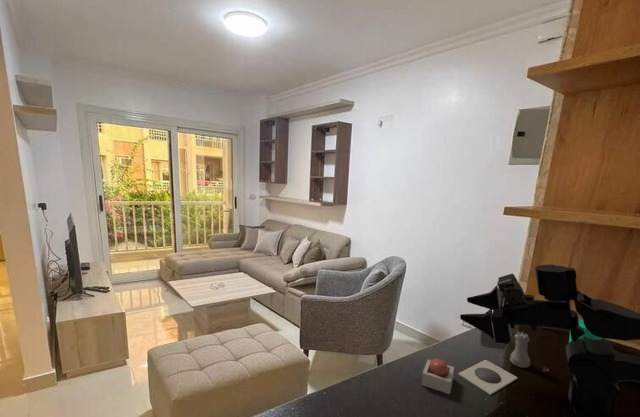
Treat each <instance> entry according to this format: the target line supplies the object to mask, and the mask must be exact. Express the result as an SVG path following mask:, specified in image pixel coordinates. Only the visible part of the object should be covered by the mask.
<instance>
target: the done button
mask: <svg viewBox="0 0 640 417" xmlns="http://www.w3.org/2000/svg"><path fill="white" fill-rule="evenodd" d="M430 360H431V366H430V373H431V374H434V375H437V376H440V377H444V378H445V377H446V376H447V365H448V364H447V362H445V361H444V360H442V359H440V358H433V359H430Z"/></svg>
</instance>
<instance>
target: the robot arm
mask: <svg viewBox="0 0 640 417" xmlns="http://www.w3.org/2000/svg"><path fill="white" fill-rule="evenodd" d="M534 270H535V278H536V283H537V284H536V285H537V291H538V292H537V293H538V294H539V295H540V296H543V298H544V299H535V297H534V295H533V296H532V294H526V293H525V292H524V290H523V287H522V286H521V284H520V282H519V281H518V279H517V277H516V275H515V274H514V273H509V274H505V275H503V276H499V277H498V281H496V282H497V283H496V285H495V286H494V288H493V289H492V290H491V291H490V292H486V293H482V294H478V295H474V296H473V295H472V296H469V297H467V298H466V301H467V303H469V304H472V305H476V306H478V307H481V308H485V309H488V310H487V311H486V312H484V313H463V314H460V315H459V316H460V320H461V321H463V322H465V323H467V324H469V325H470V326H473V327H474V328H476V329H478V330H479V331H481V332H483V333H484V334H486V335H487V336H489V337H490V338H491V340H494V341H495V344H496V345H505V346H506V345H508V344H510V342H511V340H512V329H513V330H514V329H516V326H523V327H531V331H533V332H534V331H535V332H537V331H538V328H544V329H552V330H553V329H554V330H555V329H556V330H564V331H566V330H567V331H569V335H570V334H571V339H572V341H571V342H569V341H568V343H567V345H566V347H565V352H566V354H565V355H566V359H567V365H568V368H569V370H570V371H571V373H572V374H573V379H569V386H568V394H567V397H568V400H569V405H570V406H572V408H573V411H574V414H575V415H578V416H581V417H616V411H617V403H618V402H617V401H618V396H619V395H620V393H621V391H620V387H619V384H618V383H619V382H620V383H621V382H626V381H630V382H635V383H636V382H637V383H640V355H634V354H628V353H624V352H621V351H618V350H616V349H614V348H613V347H612V344H611V342H610V340H616V341H617V340H618V341H635V340H636V341H637V340H639V341H640V312H637V311H634V310H631V309H629V308H627V307H625V306H624V305H623V306H622V305H620V304H616V303H613V302H609V301H606V300H603V299H600V298H599V299H598V298H592V297H590V296H588V295H587V294H585V293H583V292H582V291H580V290H578V287H577V271H576V268H574V267H567V266H563V265H556V264H541V265H540V264H539V265H536V266H535V267H534ZM570 301H573V305H574V308H575V310H574V309H571V302H570ZM579 316H580V317H581V318H582V319H583V323H584V325H585V327H586V328H587V329H588V330H589V331H590V332H591V333H592V334H593V335H595V336H597V337H600V338H601V340H594V339H589V338H587V337H585V336H584V337H583V339H578V338H579V337H580V336H582V335H584V334H585V331H584V329H583V328H582V327H580V326H579V320H578V319H579Z"/></svg>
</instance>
